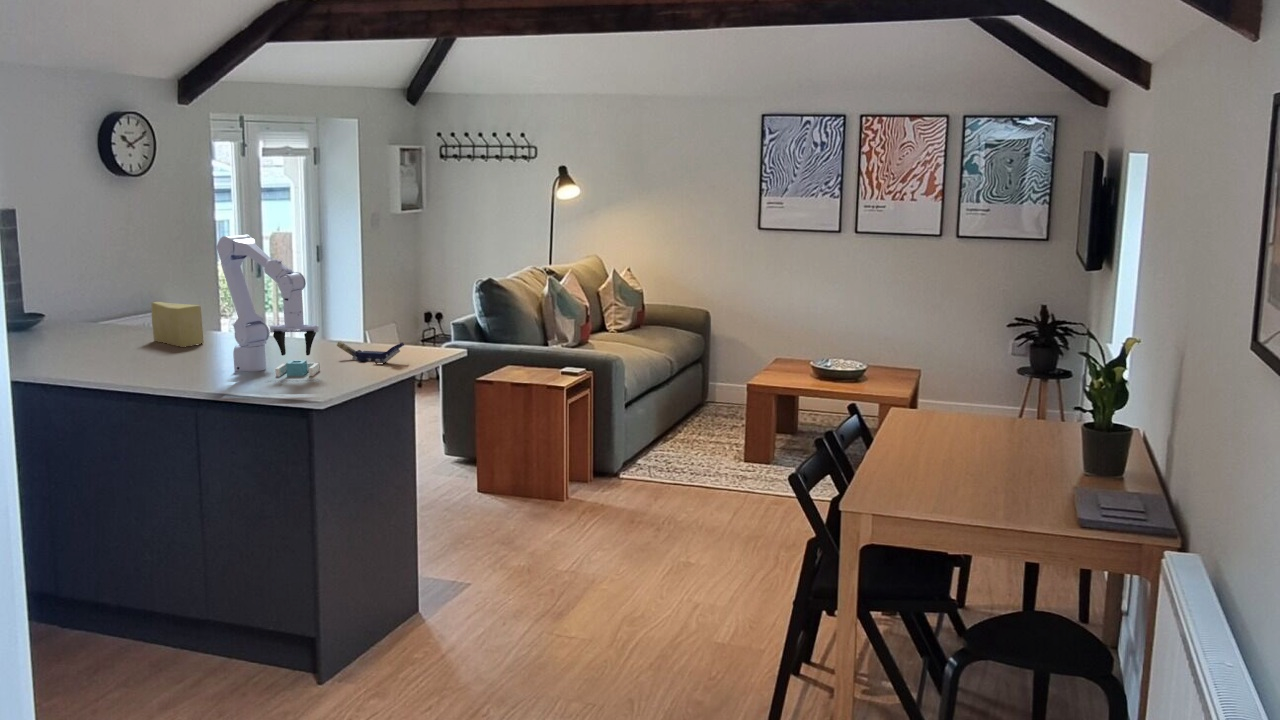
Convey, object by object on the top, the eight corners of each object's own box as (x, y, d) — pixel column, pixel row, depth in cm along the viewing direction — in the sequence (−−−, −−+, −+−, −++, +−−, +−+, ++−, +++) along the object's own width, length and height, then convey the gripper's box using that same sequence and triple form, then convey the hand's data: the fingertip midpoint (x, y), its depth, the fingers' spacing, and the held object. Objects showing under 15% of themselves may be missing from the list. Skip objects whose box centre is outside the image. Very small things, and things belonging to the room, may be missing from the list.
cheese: (143, 343, 421) (140, 303, 418) (166, 339, 429) (163, 299, 426) (182, 348, 410) (178, 307, 407) (205, 344, 418) (201, 304, 415)
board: (264, 385, 347) (263, 372, 346) (289, 367, 374) (288, 355, 373) (321, 384, 347) (320, 371, 346) (341, 366, 374) (340, 354, 373)
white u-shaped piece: (275, 376, 354) (275, 368, 353) (283, 370, 363) (283, 363, 362) (312, 376, 354) (312, 368, 354) (319, 370, 363) (319, 362, 362)
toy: (390, 375, 375) (395, 346, 373) (328, 358, 378) (333, 329, 376) (402, 369, 384) (407, 341, 382) (342, 353, 388) (346, 324, 385)
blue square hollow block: (287, 376, 355) (286, 363, 354) (291, 372, 360) (290, 360, 359) (303, 375, 355) (302, 363, 354) (307, 372, 360) (306, 360, 359)
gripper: (266, 313, 350) (268, 357, 352) (313, 313, 350) (316, 357, 353) (272, 310, 357) (275, 353, 359) (319, 310, 357) (321, 352, 360)
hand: (295, 354), depth 356 cm, fingers open, 7 cm apart
